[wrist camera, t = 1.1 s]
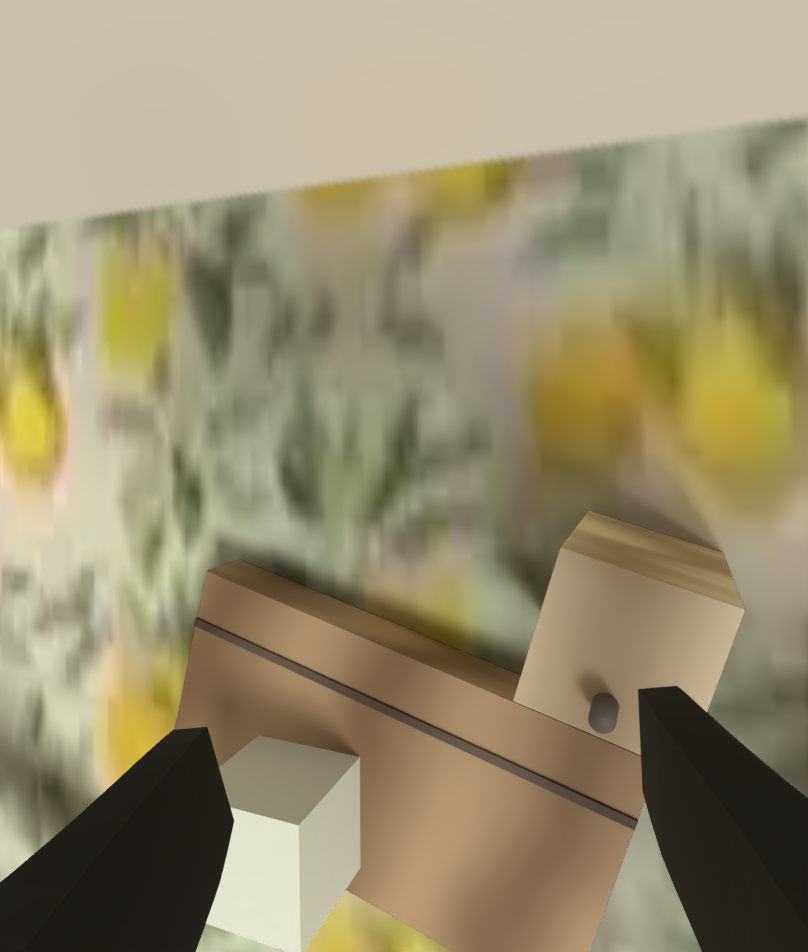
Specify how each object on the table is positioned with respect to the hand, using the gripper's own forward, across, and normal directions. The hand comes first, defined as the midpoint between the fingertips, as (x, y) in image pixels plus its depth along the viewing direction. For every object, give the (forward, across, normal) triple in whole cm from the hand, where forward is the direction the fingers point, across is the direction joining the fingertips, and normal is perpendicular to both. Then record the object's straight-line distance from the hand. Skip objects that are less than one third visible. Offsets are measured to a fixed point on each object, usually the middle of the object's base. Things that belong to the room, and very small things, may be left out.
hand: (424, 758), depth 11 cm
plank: (+11, +3, +9) cm, 14 cm away
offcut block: (+9, +6, +10) cm, 14 cm away
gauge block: (+10, -6, +3) cm, 12 cm away
